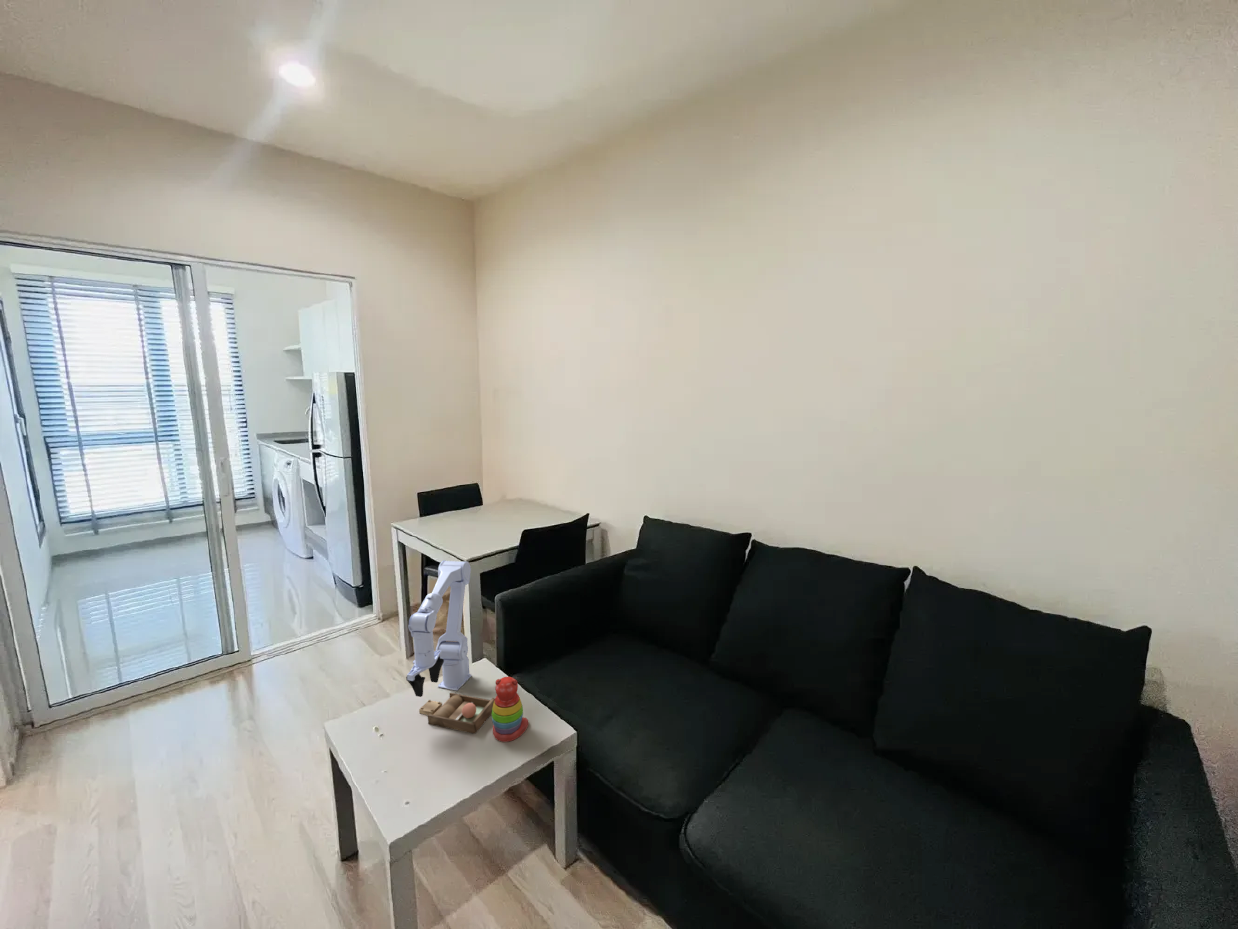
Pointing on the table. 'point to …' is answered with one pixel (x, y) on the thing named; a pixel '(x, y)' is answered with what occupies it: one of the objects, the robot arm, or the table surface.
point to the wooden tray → (453, 717)
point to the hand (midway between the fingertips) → (427, 688)
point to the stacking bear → (508, 711)
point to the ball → (469, 710)
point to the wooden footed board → (430, 707)
